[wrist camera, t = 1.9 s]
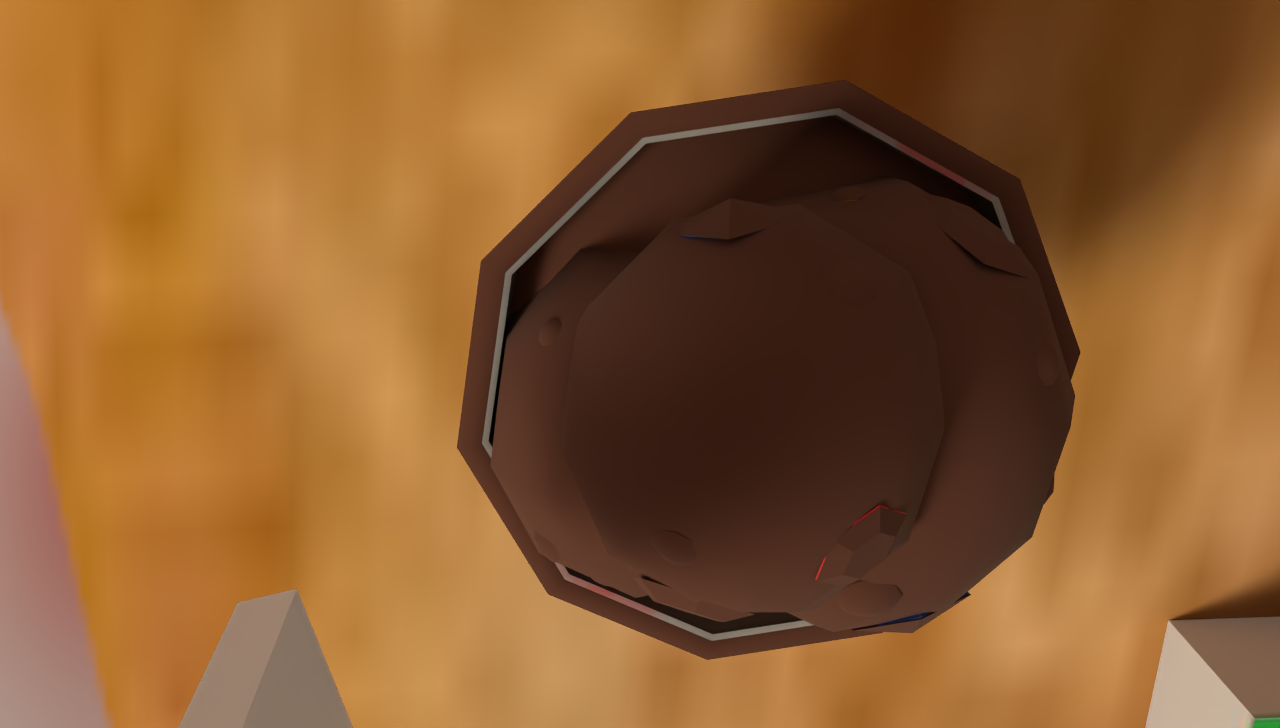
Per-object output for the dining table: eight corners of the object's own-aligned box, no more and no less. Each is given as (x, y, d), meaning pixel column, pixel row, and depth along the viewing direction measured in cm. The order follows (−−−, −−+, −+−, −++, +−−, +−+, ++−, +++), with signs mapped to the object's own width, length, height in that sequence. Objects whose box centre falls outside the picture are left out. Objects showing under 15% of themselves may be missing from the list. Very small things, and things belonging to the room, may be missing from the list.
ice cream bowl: (474, 422, 29) (387, 864, 15) (531, -8, 25) (486, 56, 11) (850, 472, 30) (1089, 923, 16) (960, 71, 26) (1397, 215, 13)
